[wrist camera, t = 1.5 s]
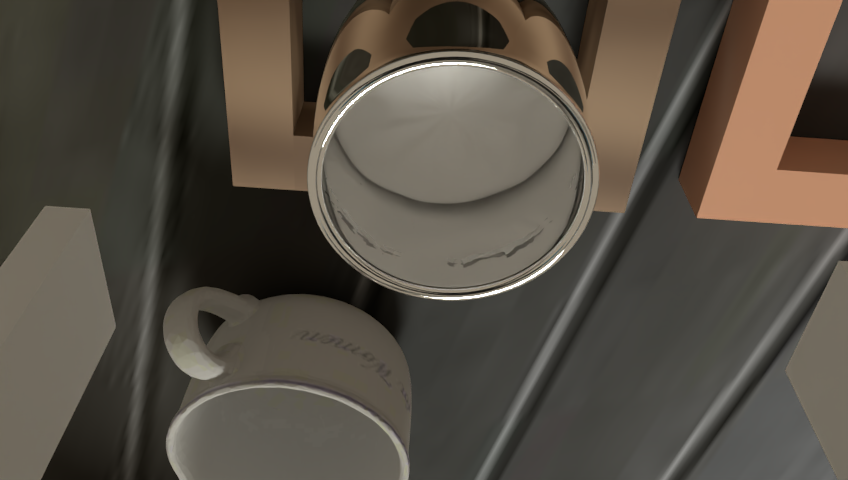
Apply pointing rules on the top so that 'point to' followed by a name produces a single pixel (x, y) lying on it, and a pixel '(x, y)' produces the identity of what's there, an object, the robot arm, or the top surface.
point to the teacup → (287, 391)
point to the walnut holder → (294, 118)
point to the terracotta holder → (766, 122)
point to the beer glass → (452, 145)
